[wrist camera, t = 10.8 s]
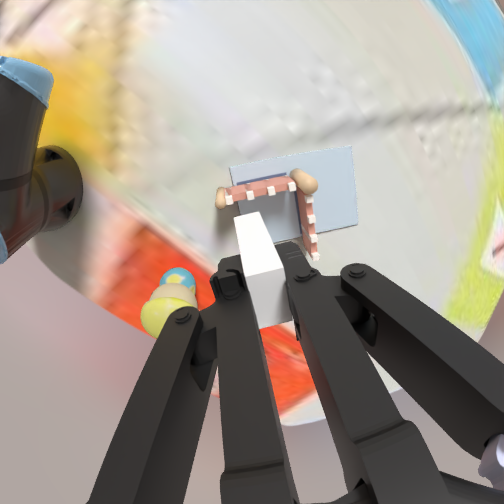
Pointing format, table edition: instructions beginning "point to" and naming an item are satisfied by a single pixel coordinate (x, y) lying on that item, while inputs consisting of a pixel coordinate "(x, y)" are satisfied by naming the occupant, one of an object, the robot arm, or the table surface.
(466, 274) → the table surface
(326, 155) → the card
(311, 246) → the fence wing
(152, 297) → the toy
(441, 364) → the robot arm
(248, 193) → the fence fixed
